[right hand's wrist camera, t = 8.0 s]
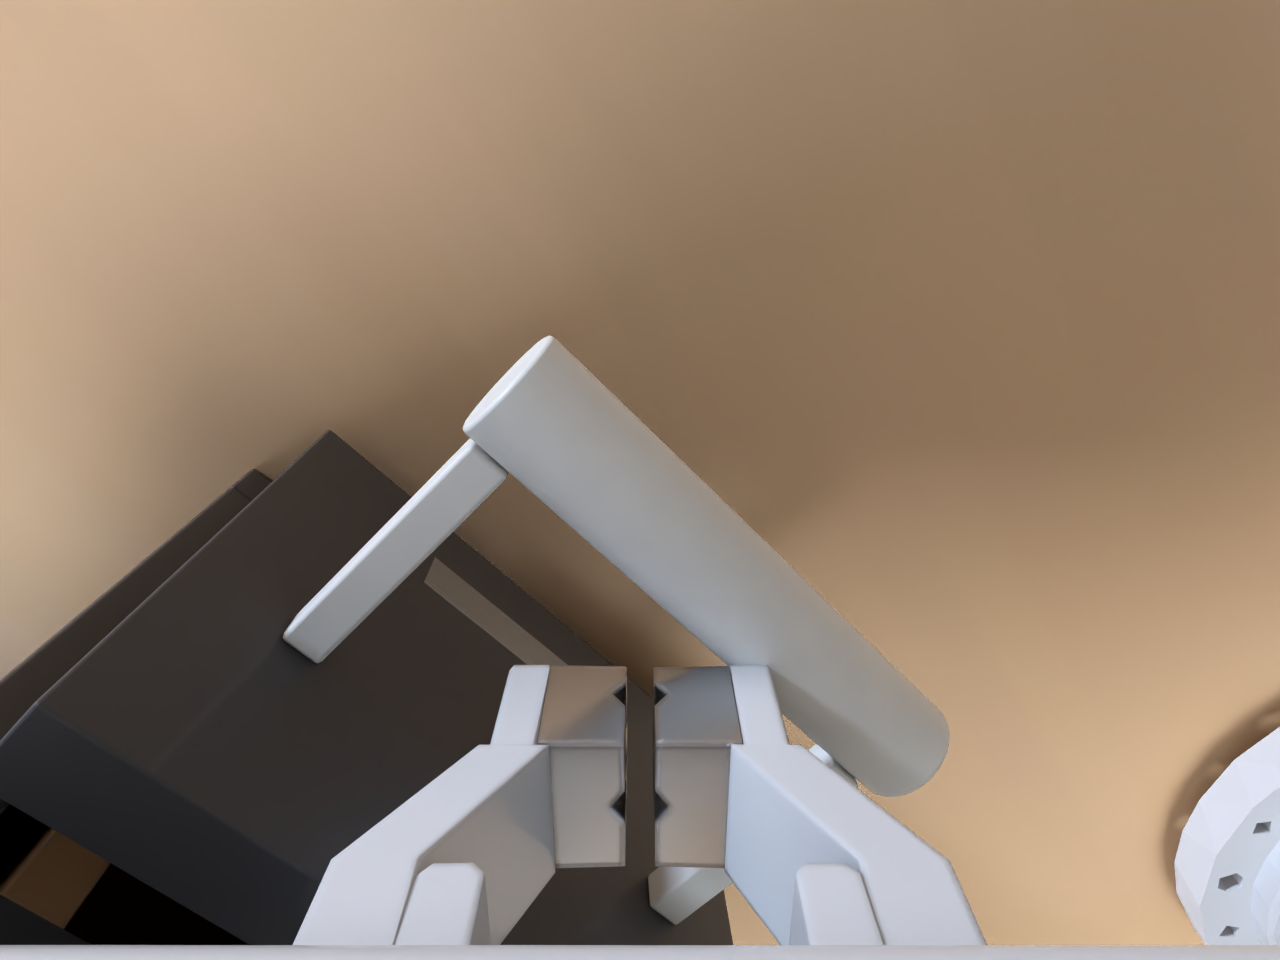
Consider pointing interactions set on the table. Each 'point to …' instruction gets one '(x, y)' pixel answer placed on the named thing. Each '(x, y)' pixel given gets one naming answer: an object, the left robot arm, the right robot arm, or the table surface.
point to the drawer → (410, 684)
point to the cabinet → (66, 648)
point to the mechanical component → (1235, 852)
